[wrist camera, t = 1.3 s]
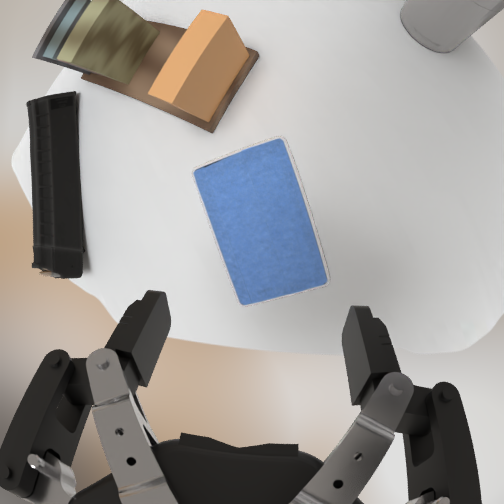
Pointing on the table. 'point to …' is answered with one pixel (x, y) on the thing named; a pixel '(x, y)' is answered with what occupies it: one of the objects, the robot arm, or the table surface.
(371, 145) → the table surface
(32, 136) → the magazine
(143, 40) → the book row
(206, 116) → the loose bookend
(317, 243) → the blue flat slab
